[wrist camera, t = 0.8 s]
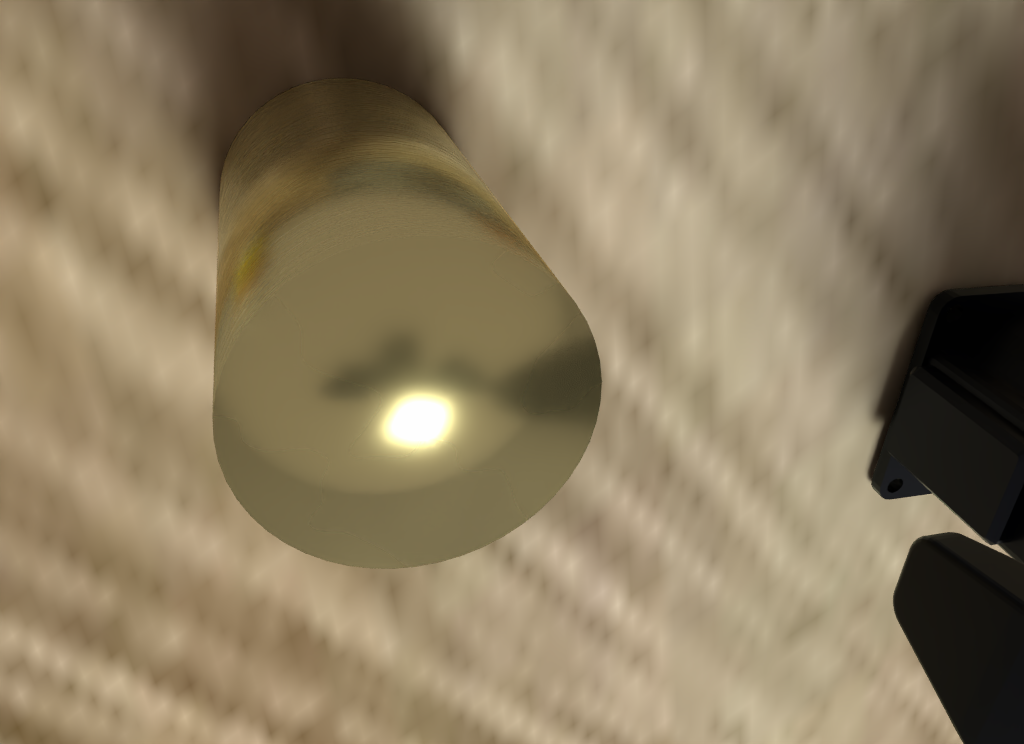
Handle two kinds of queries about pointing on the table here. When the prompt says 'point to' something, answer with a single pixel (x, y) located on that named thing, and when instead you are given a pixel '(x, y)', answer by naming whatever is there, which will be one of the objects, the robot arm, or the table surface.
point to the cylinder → (386, 337)
